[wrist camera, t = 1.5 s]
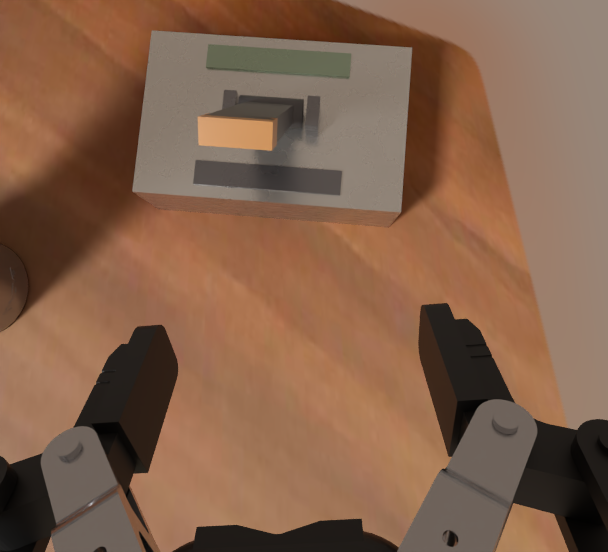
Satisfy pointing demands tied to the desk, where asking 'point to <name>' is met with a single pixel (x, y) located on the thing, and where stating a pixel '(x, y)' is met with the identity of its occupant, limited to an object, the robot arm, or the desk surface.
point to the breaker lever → (251, 123)
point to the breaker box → (293, 144)
